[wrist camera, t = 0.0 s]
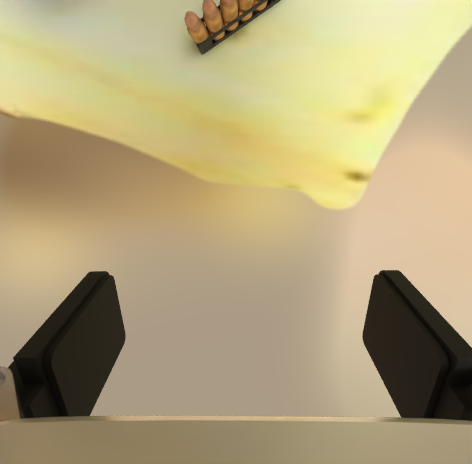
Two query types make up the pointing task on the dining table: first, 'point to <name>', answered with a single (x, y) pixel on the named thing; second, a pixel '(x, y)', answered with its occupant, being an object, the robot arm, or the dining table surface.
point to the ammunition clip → (223, 20)
